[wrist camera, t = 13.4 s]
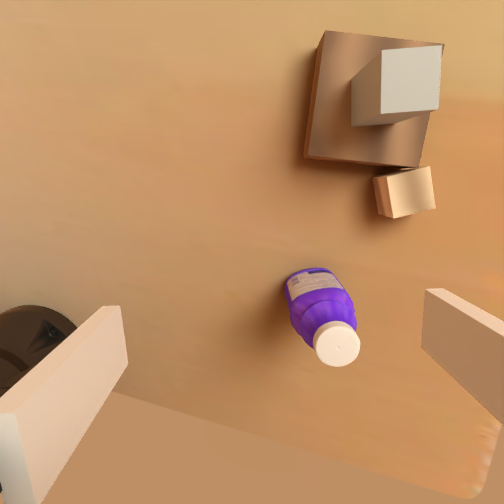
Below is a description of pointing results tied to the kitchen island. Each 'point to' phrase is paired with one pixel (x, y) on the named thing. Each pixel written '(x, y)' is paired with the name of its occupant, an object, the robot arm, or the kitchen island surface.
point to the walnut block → (339, 107)
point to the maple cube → (404, 192)
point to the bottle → (323, 315)
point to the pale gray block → (396, 86)
